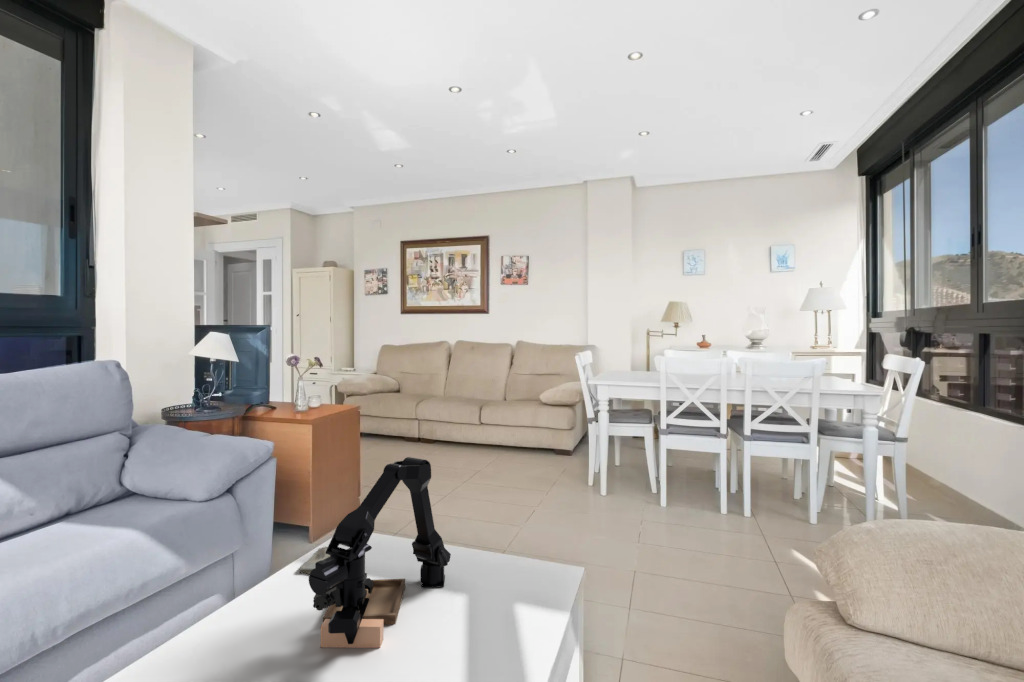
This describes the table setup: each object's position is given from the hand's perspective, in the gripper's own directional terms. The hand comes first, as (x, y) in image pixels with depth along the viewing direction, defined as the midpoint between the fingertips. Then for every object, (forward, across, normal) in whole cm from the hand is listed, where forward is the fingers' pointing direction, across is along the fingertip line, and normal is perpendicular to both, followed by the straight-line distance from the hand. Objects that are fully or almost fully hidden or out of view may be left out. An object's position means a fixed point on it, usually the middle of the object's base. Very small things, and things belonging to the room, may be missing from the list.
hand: (352, 639), depth 116 cm
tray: (+1, -16, 0) cm, 16 cm away
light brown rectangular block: (+1, 0, 0) cm, 1 cm away
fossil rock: (+2, -41, -17) cm, 44 cm away
